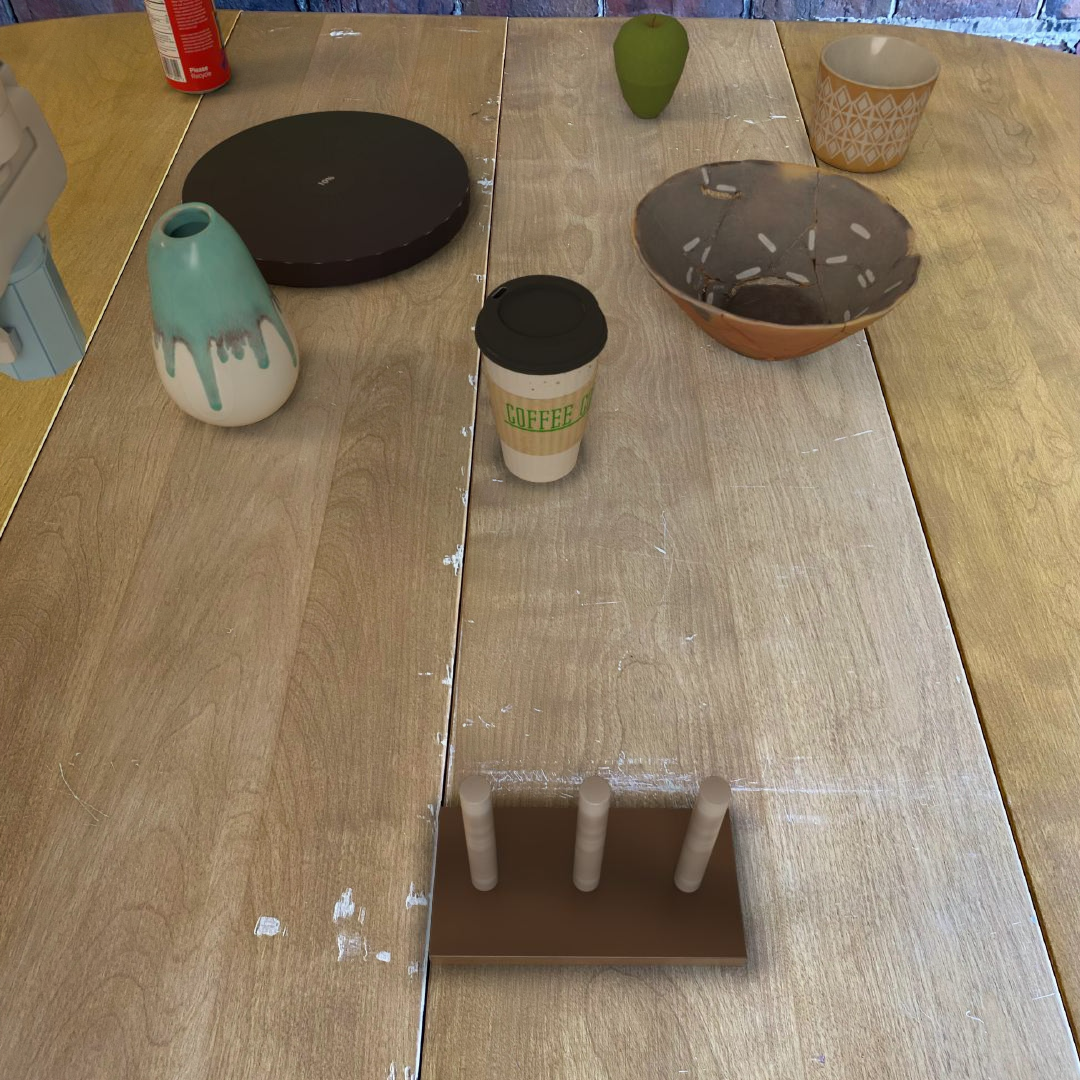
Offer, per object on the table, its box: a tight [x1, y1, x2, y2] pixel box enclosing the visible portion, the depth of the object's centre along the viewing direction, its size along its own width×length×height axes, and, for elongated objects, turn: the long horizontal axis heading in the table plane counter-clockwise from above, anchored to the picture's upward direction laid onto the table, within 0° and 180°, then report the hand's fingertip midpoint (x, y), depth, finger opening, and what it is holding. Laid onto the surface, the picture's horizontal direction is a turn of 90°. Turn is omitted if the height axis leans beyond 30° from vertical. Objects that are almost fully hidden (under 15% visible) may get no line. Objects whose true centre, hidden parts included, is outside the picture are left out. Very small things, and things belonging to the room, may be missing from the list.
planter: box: [809, 33, 942, 174], centre depth 110 cm, size 13×13×10 cm
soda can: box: [142, 0, 232, 95], centre depth 118 cm, size 8×8×15 cm
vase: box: [146, 202, 300, 428], centre depth 80 cm, size 12×12×18 cm
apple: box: [612, 13, 690, 119], centre depth 115 cm, size 9×8×12 cm
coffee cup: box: [474, 274, 609, 484], centre depth 77 cm, size 10×10×15 cm
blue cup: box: [0, 234, 87, 383], centre depth 66 cm, size 6×6×8 cm
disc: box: [180, 110, 471, 288], centre depth 106 cm, size 30×30×3 cm
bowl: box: [630, 159, 923, 362], centre depth 90 cm, size 25×25×10 cm
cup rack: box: [428, 774, 748, 967], centre depth 55 cm, size 9×18×14 cm, turn 90°
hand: (26, 320), depth 67 cm, fingers closed on blue cup, 6 cm apart
